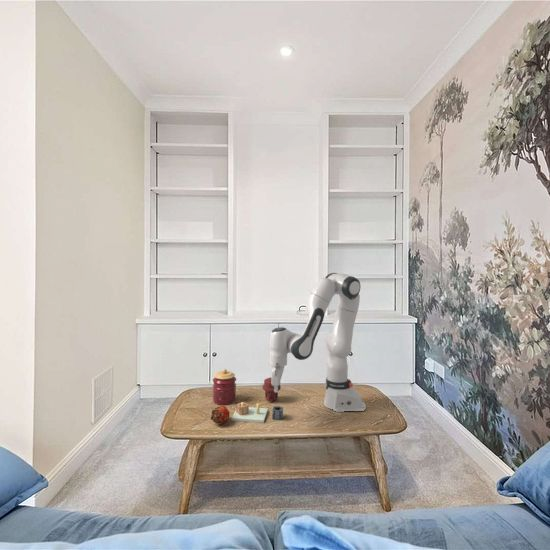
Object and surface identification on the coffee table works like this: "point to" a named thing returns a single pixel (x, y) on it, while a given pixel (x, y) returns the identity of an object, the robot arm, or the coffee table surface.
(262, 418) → the gear board
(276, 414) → the loose gear
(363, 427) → the coffee table surface
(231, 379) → the canister
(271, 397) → the mechanical component
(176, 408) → the coffee table surface
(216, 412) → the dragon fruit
